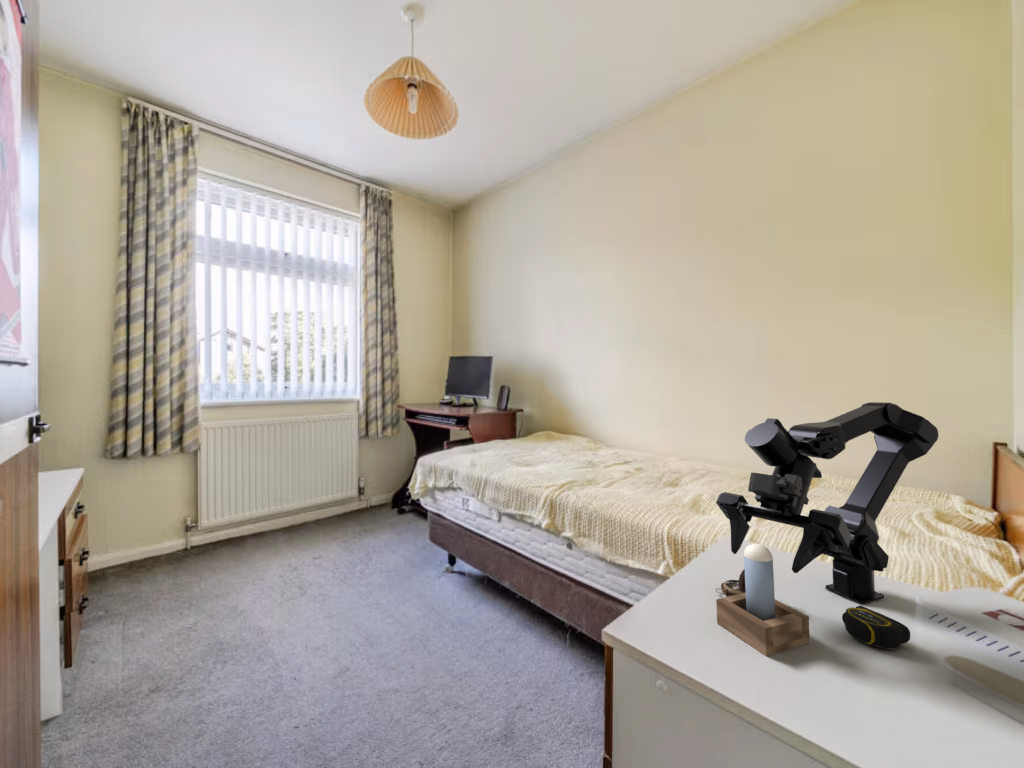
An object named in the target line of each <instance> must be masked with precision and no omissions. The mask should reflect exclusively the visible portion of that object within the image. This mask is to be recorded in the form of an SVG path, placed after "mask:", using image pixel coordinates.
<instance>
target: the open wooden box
mask: <svg viewBox="0 0 1024 768" xmlns="http://www.w3.org/2000/svg"><path fill="white" fill-rule="evenodd" d="M775 615H776V618H773V619H770V620H766V621H762V620H761V619H759V618H757V617H756V616H754V615H752V614H750V613H749V612H747V611H746V593H741V594H737V595H733V596H724V597H721V598H716V624H717V625H719V626H720V627H722V628H723V629H724V630H725V631H727V632H729V633H731V634H732V635H734V636H735V637H737V638H739V640H741V641H743V642H745V643H746V644H747V645H749V646H750V647H752V648H753V649H755V650H756V651H757V652H759V653H760V654H762V655H764V656H765V657H768V656H771V655H774V654H778V653H781V652H784V651H787V650H791V649H794V648H798V647H800V646H804V645H807V644H810V642H811V640H810V639H811V638H810V637H811V636H810V635H811V634H810V616H809V615H807V614H804V613H802V612H800V611H799V610H797V609H795V608H793V607H792V606H789V605H788V604H785V603H783V602H781V601H779V600H777V599H775Z"/></svg>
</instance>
